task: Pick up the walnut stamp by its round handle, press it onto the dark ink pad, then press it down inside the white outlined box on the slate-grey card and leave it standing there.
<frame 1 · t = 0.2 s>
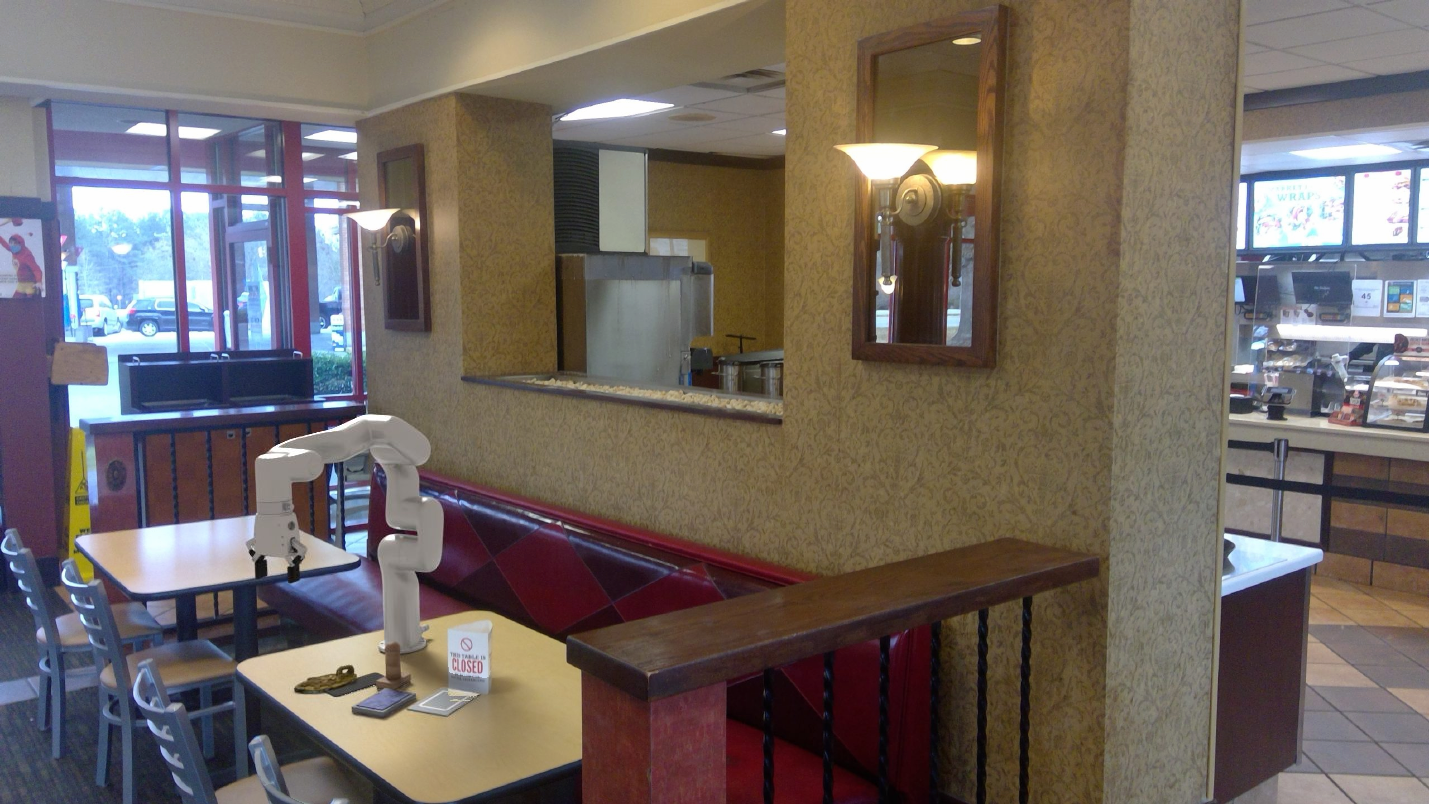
hand: (277, 579, 234), 31 cm above the table, tool pointing down, fingers open, 9 cm apart
ink pad: (384, 705, 239), on the table
brass ornament: (326, 687, 251), on the table, touching phone
stamp card: (444, 701, 241), on the table
stamp: (393, 685, 251), on the table
phone: (356, 687, 252), on the table, touching brass ornament
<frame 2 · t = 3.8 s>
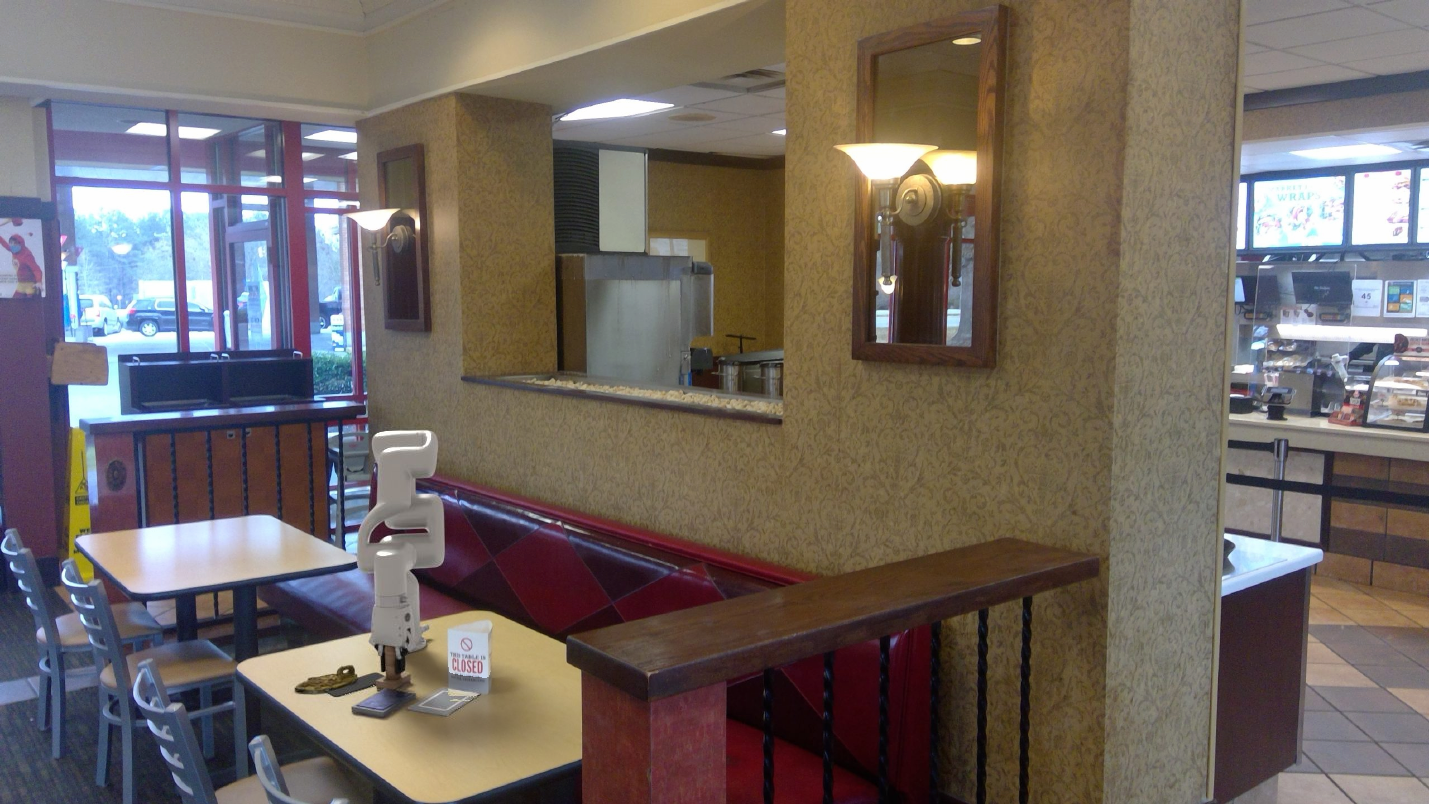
hand: (393, 670, 251), 4 cm above the table, tool pointing down, fingers closed on stamp, 3 cm apart
stamp: (393, 685, 251), on the table, touching gripper
everything else where it was.
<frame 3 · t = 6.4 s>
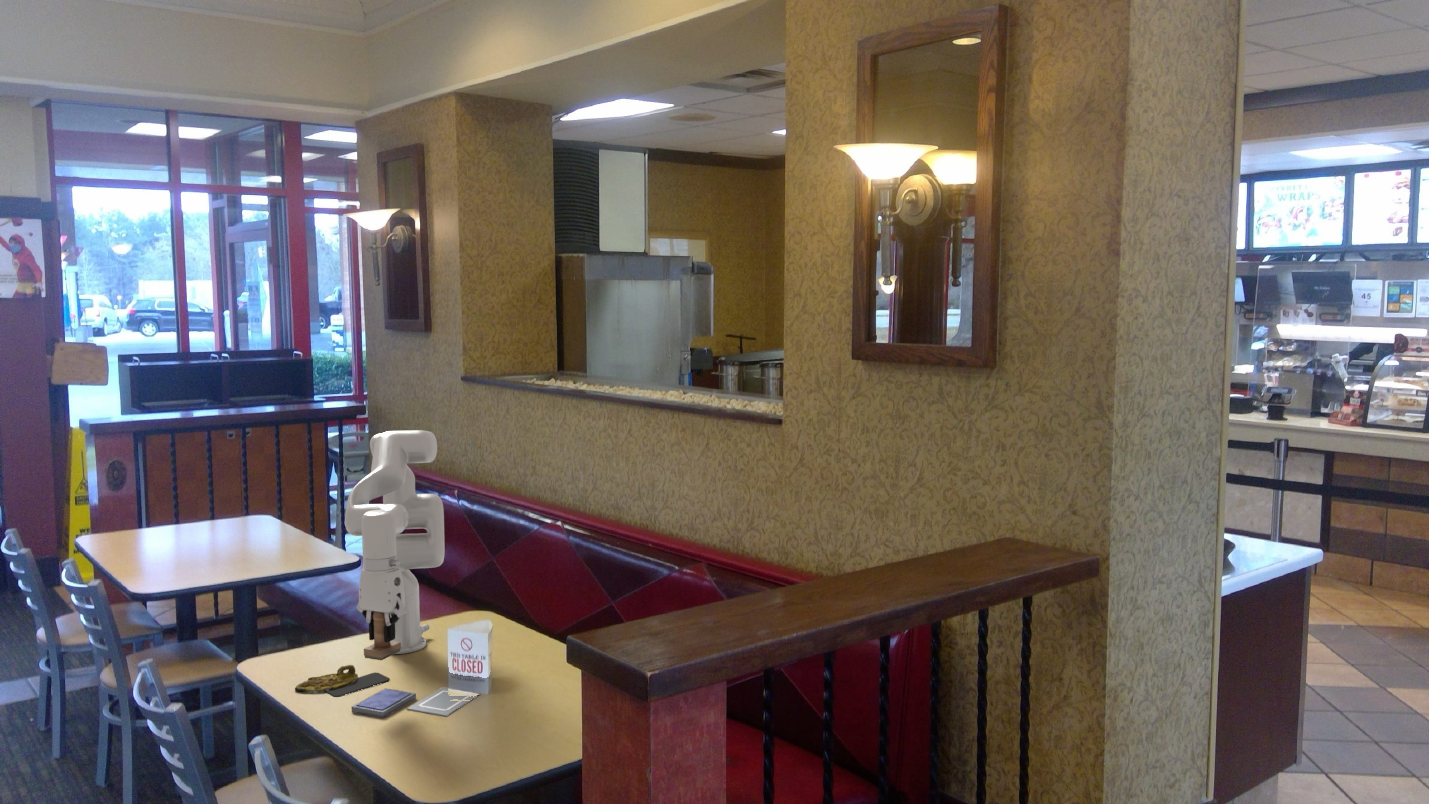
hand: (382, 638, 237), 16 cm above the table, tool pointing down, fingers closed on stamp, 3 cm apart
stamp: (382, 654, 237), point 13 cm above the table, touching gripper
everything else where it was.
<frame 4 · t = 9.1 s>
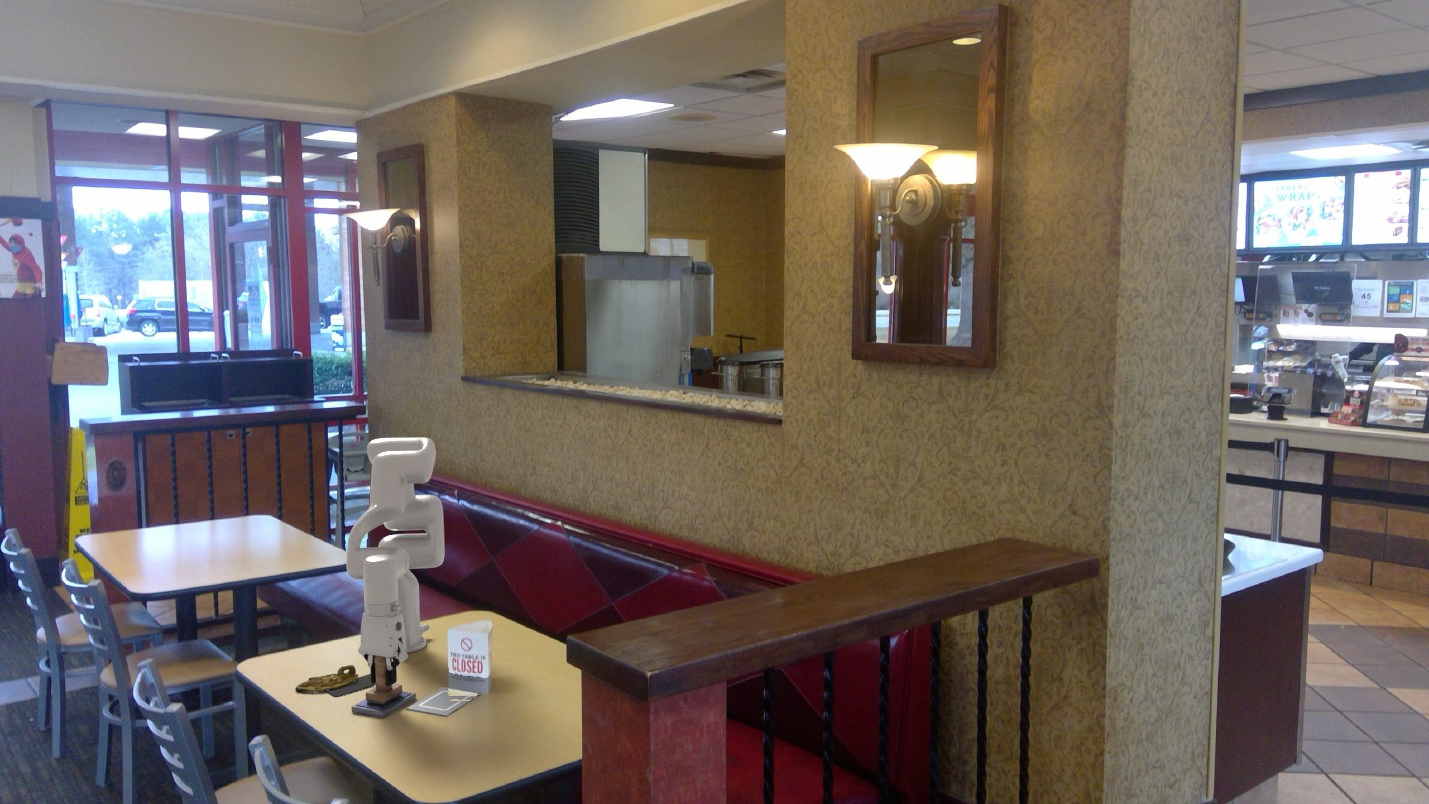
hand: (383, 682, 238), 6 cm above the table, tool pointing down, fingers closed on stamp, 3 cm apart
stamp: (384, 697, 239), point 2 cm above the table, touching gripper
everything else where it was.
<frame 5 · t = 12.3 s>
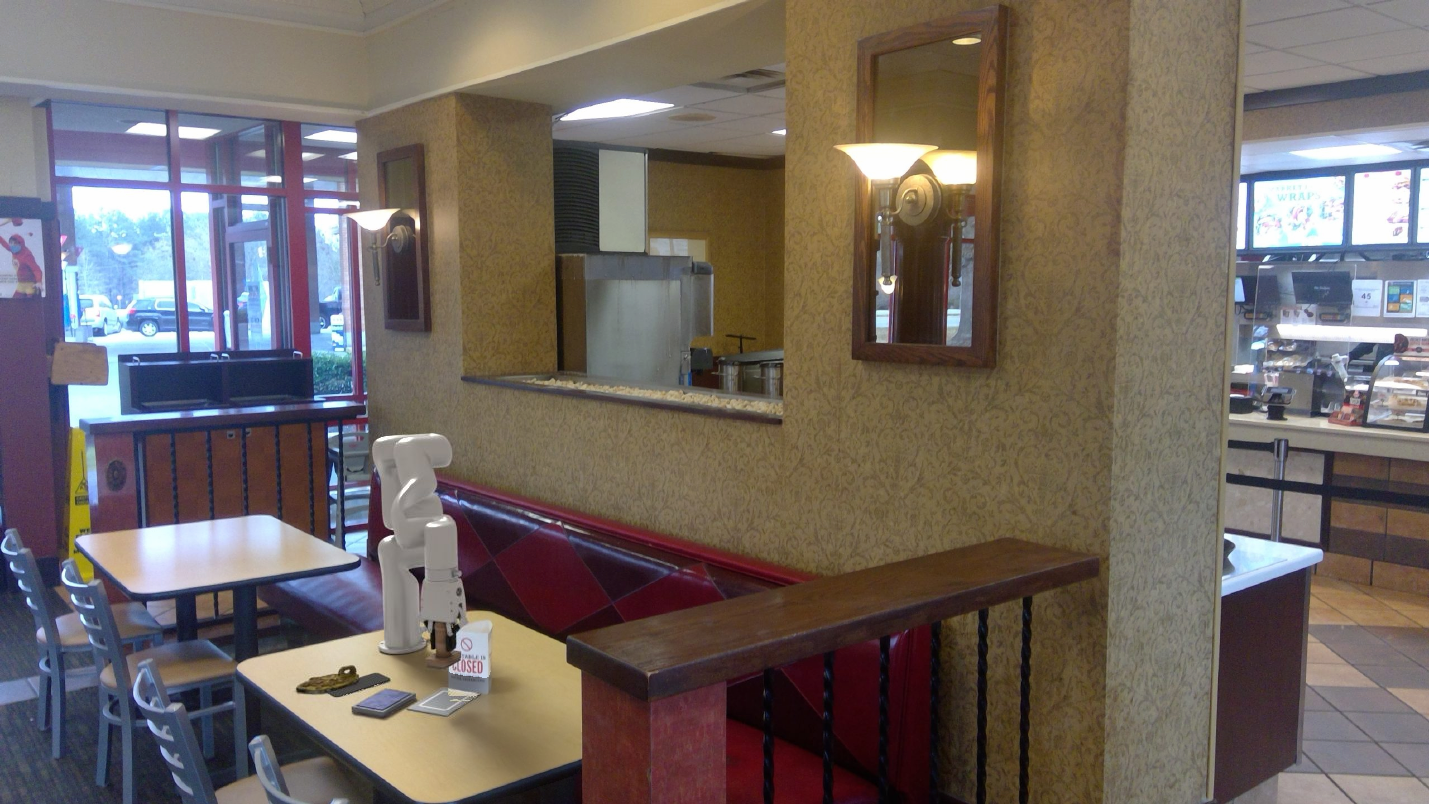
hand: (443, 648, 240), 13 cm above the table, tool pointing down, fingers closed on stamp, 3 cm apart
brass ornament: (328, 687, 251), on the table
stamp: (443, 663, 240), point 9 cm above the table, touching gripper
phone: (357, 687, 251), on the table
when the fingers open (4 cm above the table, at t = 14.6 s): stamp stays where it is, resting on stamp card.
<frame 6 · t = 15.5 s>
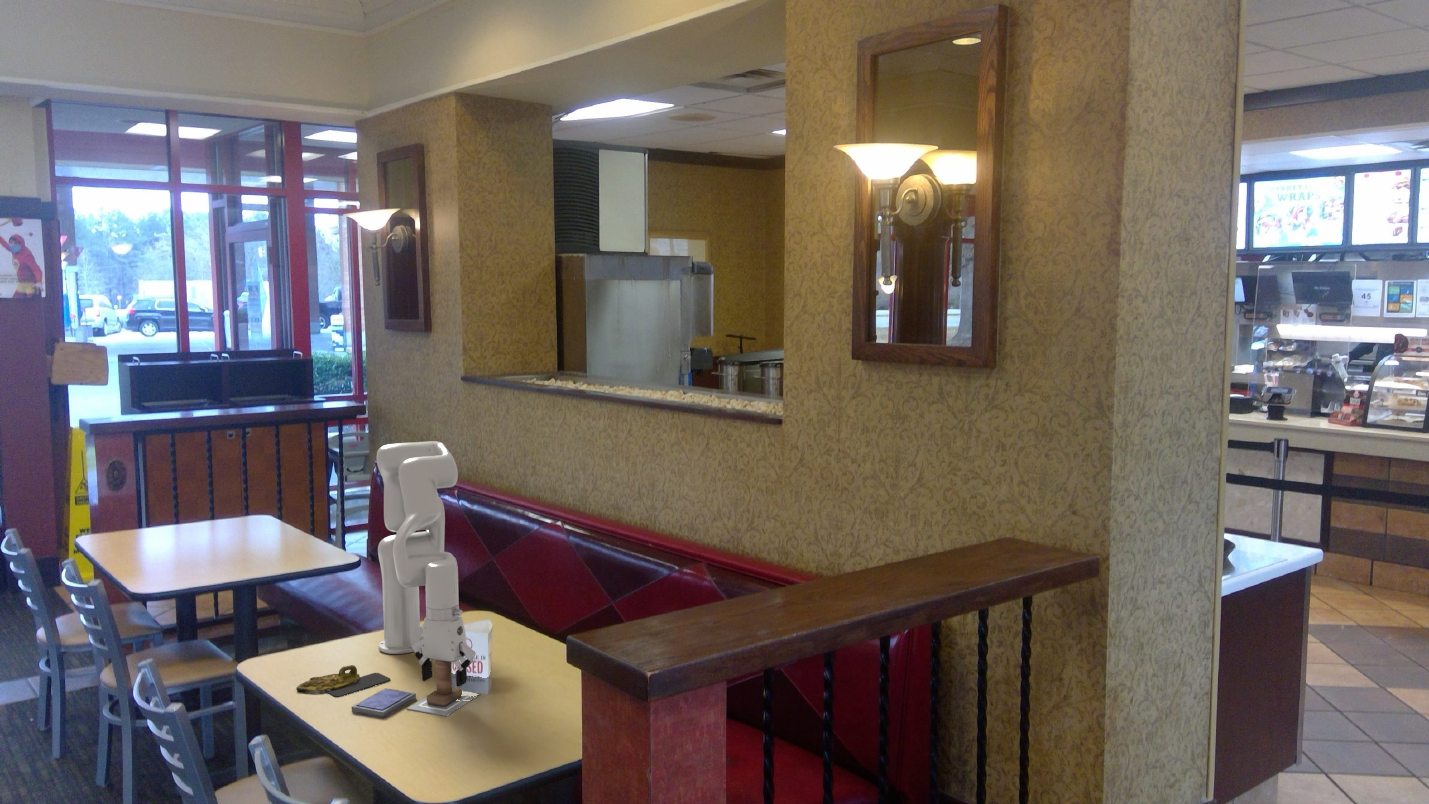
hand: (444, 682, 241), 5 cm above the table, tool pointing down, fingers open, 9 cm apart
brass ornament: (328, 687, 251), on the table, touching phone
stamp: (444, 700, 241), resting on stamp card
phone: (357, 687, 251), on the table, touching brass ornament
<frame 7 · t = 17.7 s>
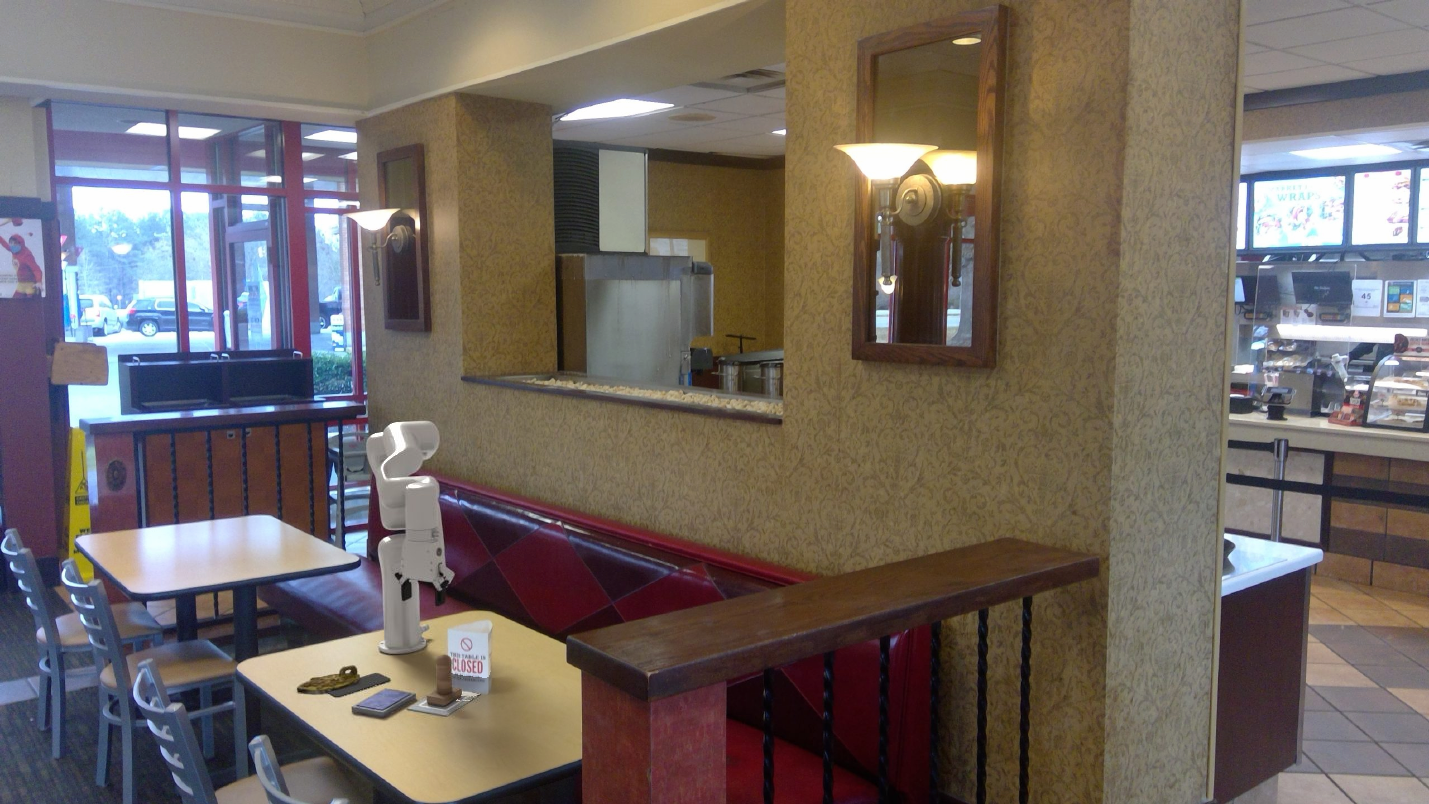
hand: (423, 602, 246), 22 cm above the table, tool pointing down, fingers open, 9 cm apart
nothing on the table moved.
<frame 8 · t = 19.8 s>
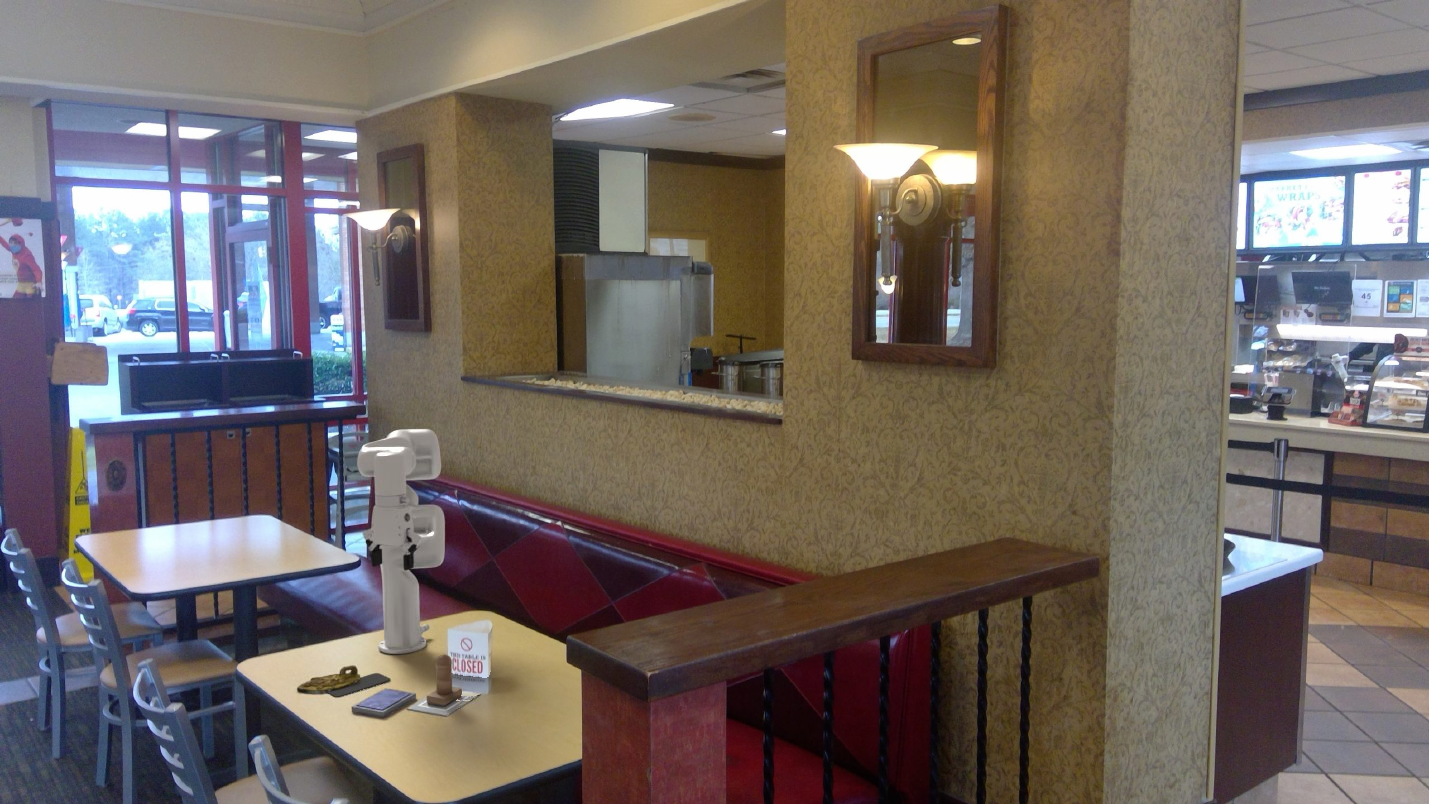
hand: (392, 567, 255), 28 cm above the table, tool pointing down, fingers open, 9 cm apart
nothing on the table moved.
at the end: stamp 0.0 cm off-centre on the stamp card, point 0.3 cm above the stamp card's base; stamp tilted 0°; the gripper is holding nothing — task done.
